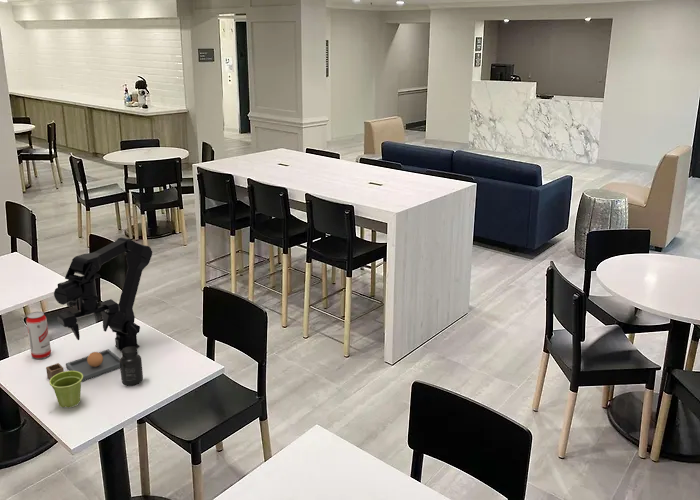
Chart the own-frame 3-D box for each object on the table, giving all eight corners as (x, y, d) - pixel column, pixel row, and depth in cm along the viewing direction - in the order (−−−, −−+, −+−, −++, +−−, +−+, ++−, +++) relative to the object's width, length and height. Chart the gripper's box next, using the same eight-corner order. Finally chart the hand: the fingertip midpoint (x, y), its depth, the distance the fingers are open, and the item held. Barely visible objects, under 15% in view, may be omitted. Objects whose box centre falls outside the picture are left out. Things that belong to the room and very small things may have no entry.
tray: (108, 353, 217) (108, 349, 216) (124, 366, 209) (124, 362, 208) (66, 368, 206) (65, 363, 206) (81, 382, 198) (80, 377, 198)
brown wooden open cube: (59, 373, 203) (58, 363, 202) (64, 378, 200) (63, 367, 199) (47, 377, 200) (46, 367, 199) (52, 382, 198) (50, 371, 196)
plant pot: (61, 415, 181) (58, 390, 178) (47, 402, 187) (43, 378, 184) (91, 402, 188) (88, 378, 185) (76, 390, 194) (73, 367, 191)
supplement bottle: (147, 378, 202) (145, 346, 198) (134, 388, 196) (131, 356, 192) (130, 374, 204) (127, 342, 200) (117, 384, 198) (113, 352, 194)
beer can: (55, 351, 216) (49, 311, 211) (44, 360, 210) (39, 319, 205) (38, 350, 216) (32, 310, 211) (27, 359, 211) (21, 317, 205)
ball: (99, 360, 211) (98, 347, 209) (106, 366, 207) (104, 353, 206) (85, 365, 207) (84, 352, 206) (91, 371, 204) (90, 358, 202)
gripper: (103, 279, 211) (107, 319, 216) (47, 293, 198) (53, 335, 203) (118, 288, 203) (122, 330, 209) (62, 304, 191) (67, 347, 196)
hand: (91, 335), depth 204 cm, fingers open, 9 cm apart
